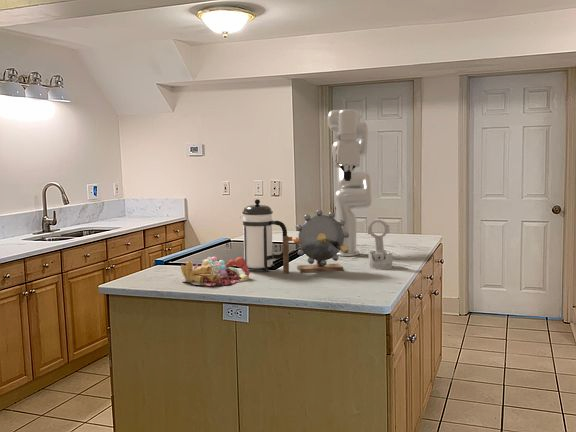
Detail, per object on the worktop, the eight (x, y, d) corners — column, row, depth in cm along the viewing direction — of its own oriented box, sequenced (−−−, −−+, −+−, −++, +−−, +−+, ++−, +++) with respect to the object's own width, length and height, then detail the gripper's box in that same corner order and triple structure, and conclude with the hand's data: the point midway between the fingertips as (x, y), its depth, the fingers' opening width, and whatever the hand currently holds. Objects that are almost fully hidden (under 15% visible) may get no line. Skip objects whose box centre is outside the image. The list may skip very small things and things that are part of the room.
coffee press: (250, 275, 243) (249, 201, 239) (235, 268, 257) (234, 198, 254) (288, 270, 251) (287, 199, 247) (271, 264, 265) (270, 196, 261)
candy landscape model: (219, 290, 218) (218, 265, 217) (170, 283, 231) (169, 260, 229) (257, 277, 240) (256, 254, 239) (210, 271, 252) (210, 250, 251)
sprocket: (313, 276, 250) (358, 243, 252) (320, 281, 239) (366, 247, 241) (282, 231, 245) (327, 198, 247) (287, 235, 234) (334, 200, 237)
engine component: (390, 269, 250) (393, 265, 259) (390, 221, 248) (394, 218, 257) (364, 268, 253) (369, 264, 263) (364, 220, 251) (369, 217, 261)
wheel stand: (338, 266, 257) (337, 232, 255) (343, 270, 249) (343, 234, 248) (281, 269, 253) (280, 234, 251) (284, 273, 245) (283, 236, 243)
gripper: (332, 138, 253) (333, 181, 256) (366, 138, 256) (366, 180, 258) (328, 138, 260) (328, 180, 263) (361, 138, 263) (361, 179, 266)
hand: (347, 180), depth 261 cm, fingers closed
